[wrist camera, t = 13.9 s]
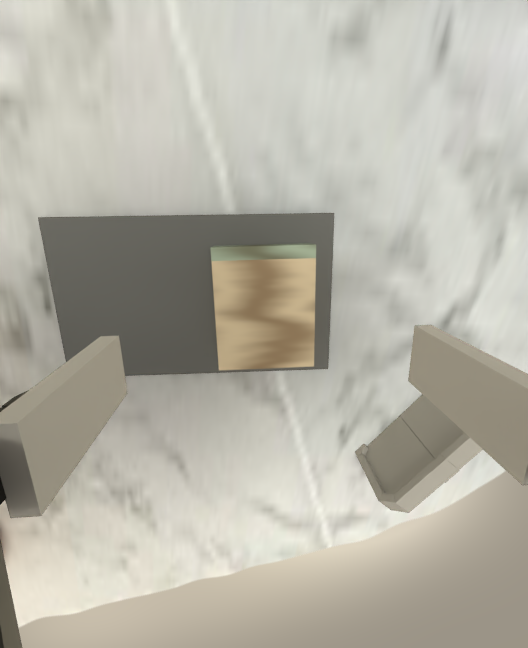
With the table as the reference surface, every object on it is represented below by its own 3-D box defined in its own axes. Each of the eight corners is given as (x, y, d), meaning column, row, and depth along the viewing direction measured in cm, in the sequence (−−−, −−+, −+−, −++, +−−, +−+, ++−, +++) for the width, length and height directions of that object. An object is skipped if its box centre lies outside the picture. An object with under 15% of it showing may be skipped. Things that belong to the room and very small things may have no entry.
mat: (72, 374, 31) (69, 377, 30) (42, 217, 27) (38, 217, 26) (326, 366, 32) (328, 368, 31) (332, 213, 28) (334, 213, 27)
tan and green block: (307, 353, 30) (309, 243, 28) (314, 366, 28) (316, 244, 25) (221, 357, 30) (214, 245, 27) (218, 370, 27) (210, 247, 25)
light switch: (354, 451, 34) (384, 513, 27) (439, 371, 32) (498, 413, 25) (365, 460, 35) (398, 523, 27) (450, 381, 33) (511, 426, 25)
